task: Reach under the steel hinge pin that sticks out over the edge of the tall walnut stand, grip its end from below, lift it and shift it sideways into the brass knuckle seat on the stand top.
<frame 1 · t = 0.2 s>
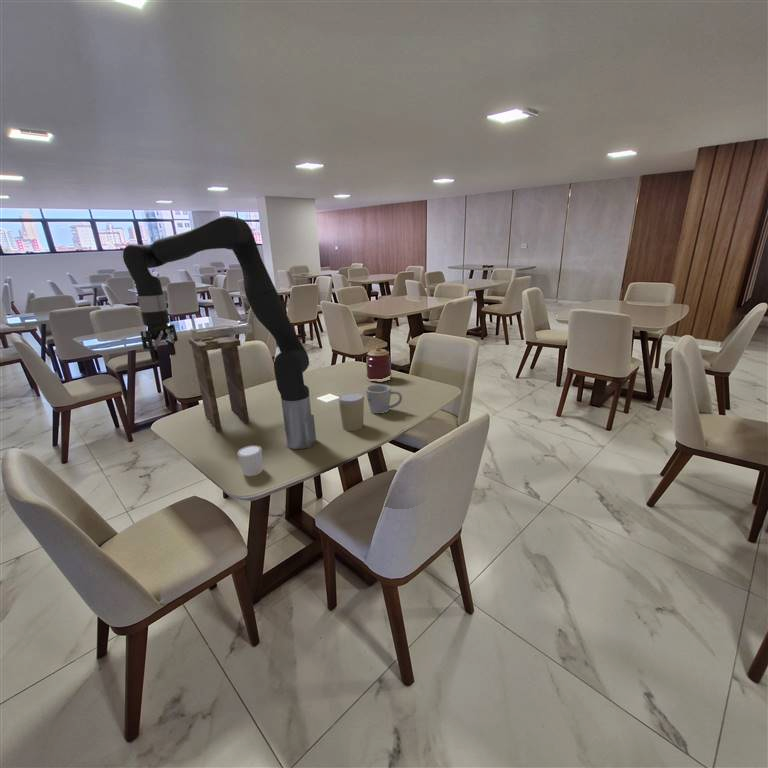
hand: (164, 358, 128), 30 cm above the table, tool pointing down, fingers open, 8 cm apart
white ribbed cup: (252, 471, 114), on the table
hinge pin: (223, 335, 150), point 33 cm above the table, touching walnut stand
canister: (379, 379, 198), on the table
coffee cup: (353, 427, 142), on the table
walnut stand: (227, 419, 153), on the table
mug: (384, 411, 156), on the table
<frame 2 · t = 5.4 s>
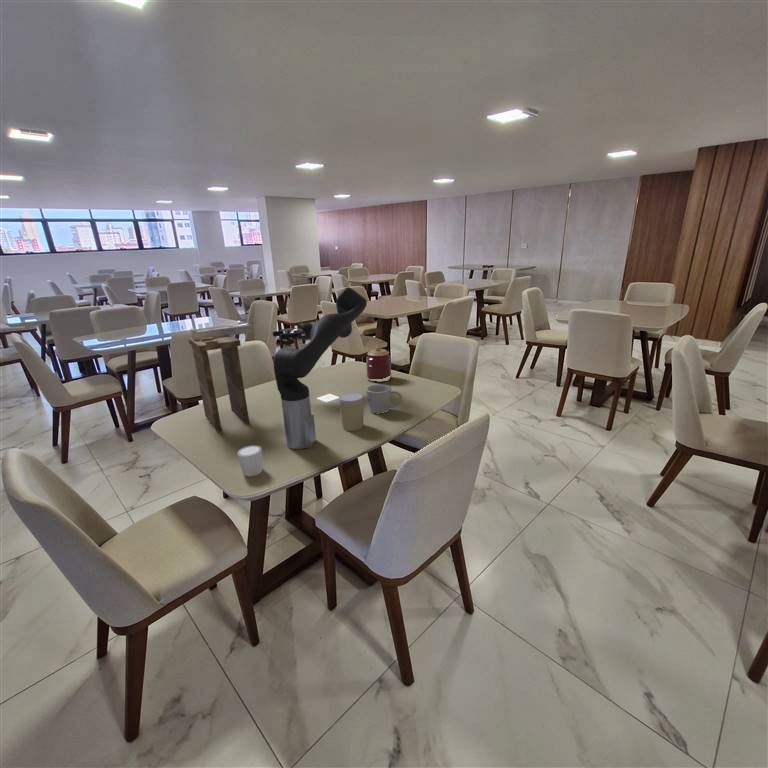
hand: (276, 335, 162), 30 cm above the table, tool horizontal, fingers open, 8 cm apart
nothing on the table moved.
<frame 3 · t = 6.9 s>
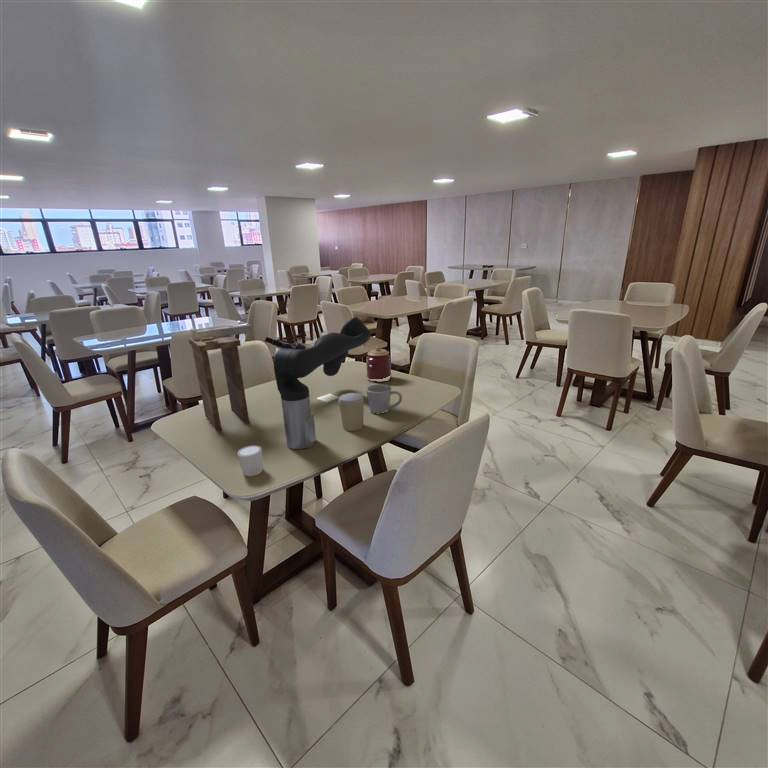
hand: (269, 340, 161), 29 cm above the table, tool pointing upward, fingers open, 8 cm apart
nothing on the table moved.
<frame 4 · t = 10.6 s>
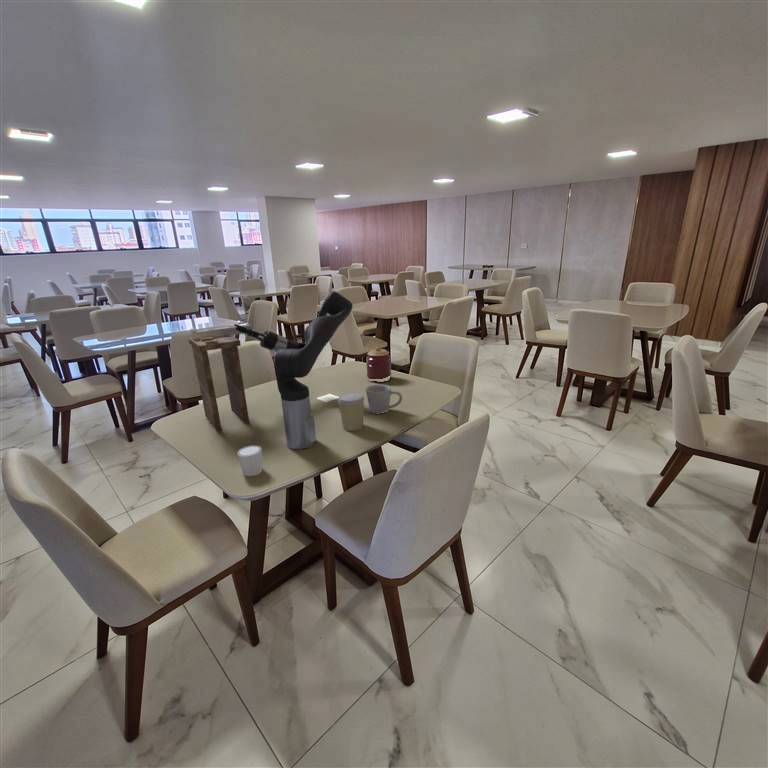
hand: (235, 326, 151), 36 cm above the table, tool pointing upward, fingers closed on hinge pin, 3 cm apart
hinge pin: (223, 335, 149), point 33 cm above the table, touching gripper, walnut stand
everything else where it was.
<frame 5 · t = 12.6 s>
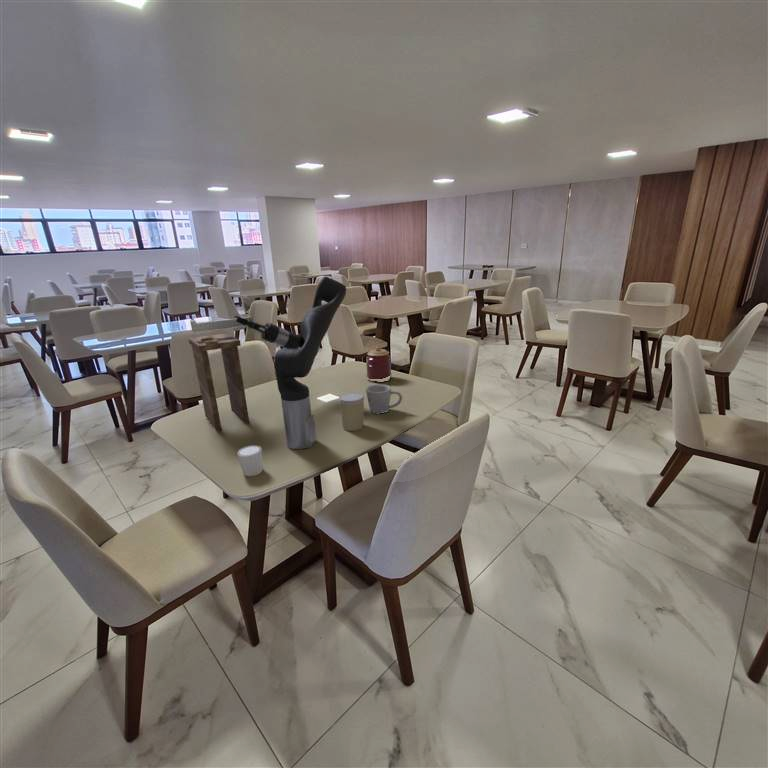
hand: (236, 318, 148), 40 cm above the table, tool pointing upward, fingers closed on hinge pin, 3 cm apart
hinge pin: (224, 327, 146), point 37 cm above the table, touching gripper
everything else where it was.
when the fingers open (37 cm above the table, at t = 15.0 s): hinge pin stays where it is, resting on walnut stand.
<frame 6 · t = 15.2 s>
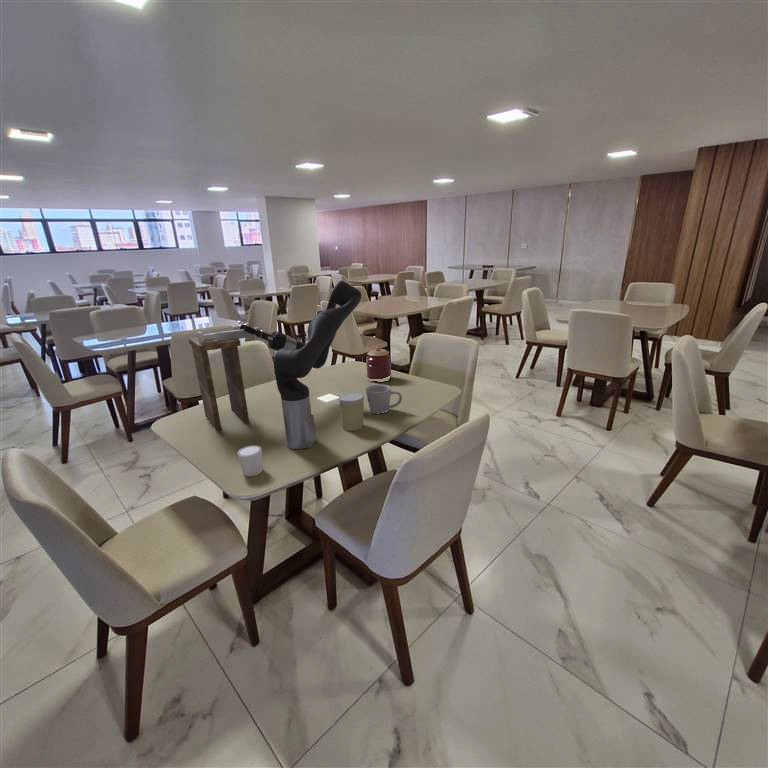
hand: (242, 327, 143), 37 cm above the table, tool pointing upward, fingers open, 4 cm apart
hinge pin: (231, 339, 142), point 33 cm above the table, touching walnut stand
everything else where it was.
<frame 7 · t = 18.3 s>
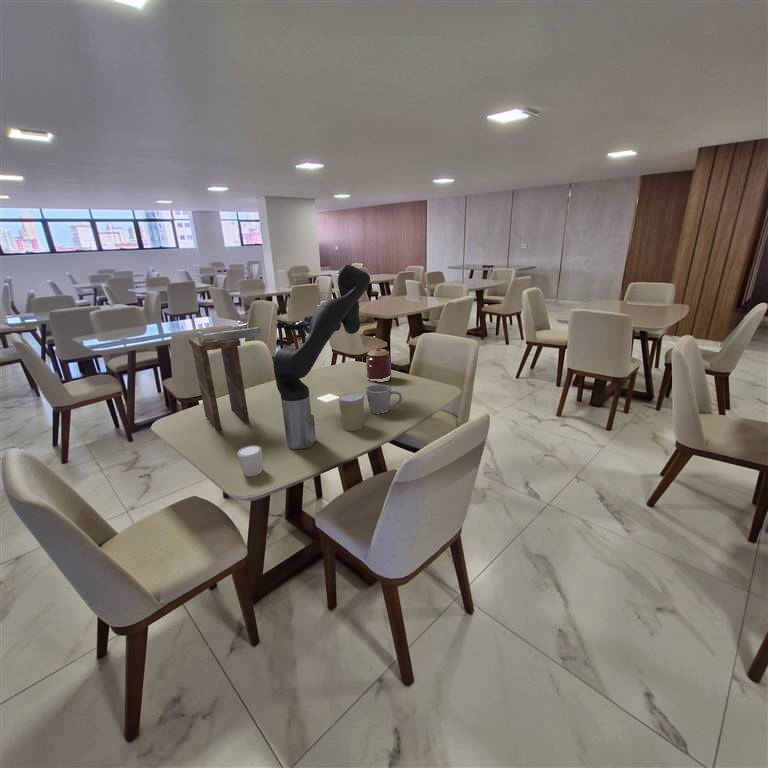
hand: (280, 326, 152), 35 cm above the table, tool horizontal, fingers open, 8 cm apart
nothing on the table moved.
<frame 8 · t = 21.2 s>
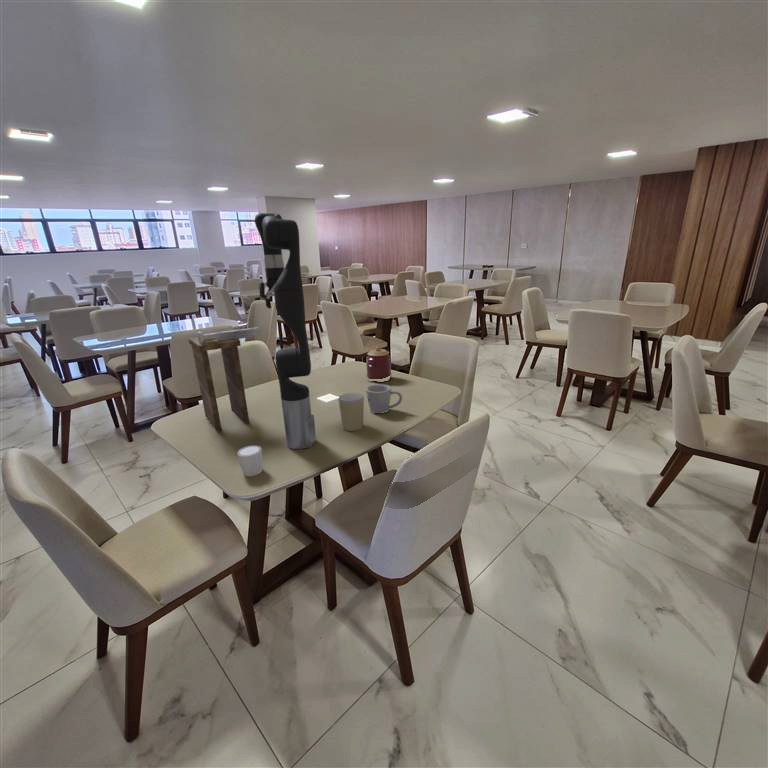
hand: (279, 307, 158), 42 cm above the table, tool pointing down, fingers open, 8 cm apart
nothing on the table moved.
at the end: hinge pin 0.4 cm from the target spot, point 33.0 cm above the table; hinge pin tilted 0°; the gripper is holding nothing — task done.
